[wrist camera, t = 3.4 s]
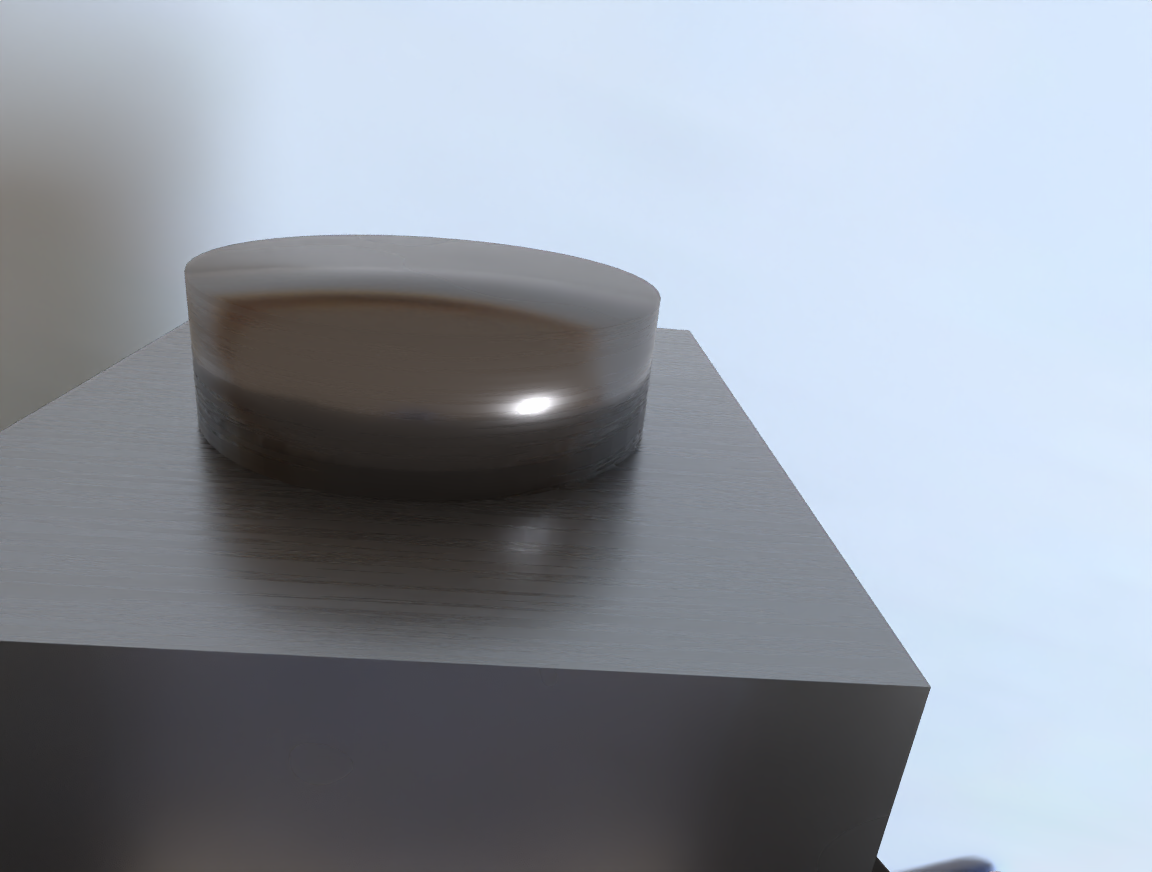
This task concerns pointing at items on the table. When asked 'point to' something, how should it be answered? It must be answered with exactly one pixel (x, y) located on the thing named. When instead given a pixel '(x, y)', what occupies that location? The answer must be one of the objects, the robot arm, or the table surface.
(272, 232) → the table surface
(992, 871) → the robot arm
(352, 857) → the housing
